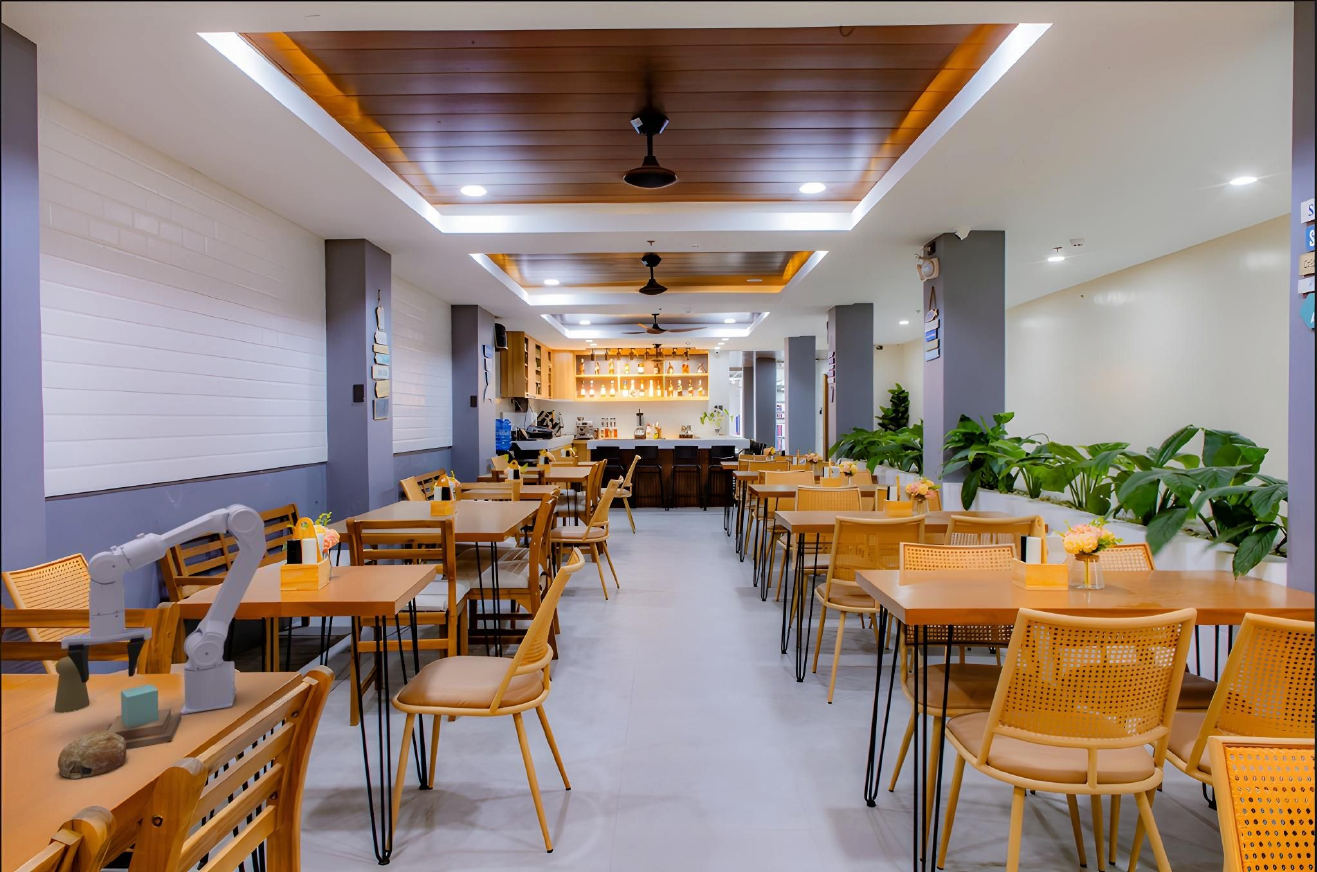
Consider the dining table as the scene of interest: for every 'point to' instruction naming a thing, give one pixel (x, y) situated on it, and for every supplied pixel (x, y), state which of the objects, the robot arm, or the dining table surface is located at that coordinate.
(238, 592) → the robot arm
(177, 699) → the dining table surface
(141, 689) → the teal block
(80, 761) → the brown rounded lump
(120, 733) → the walnut stand
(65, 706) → the cork
